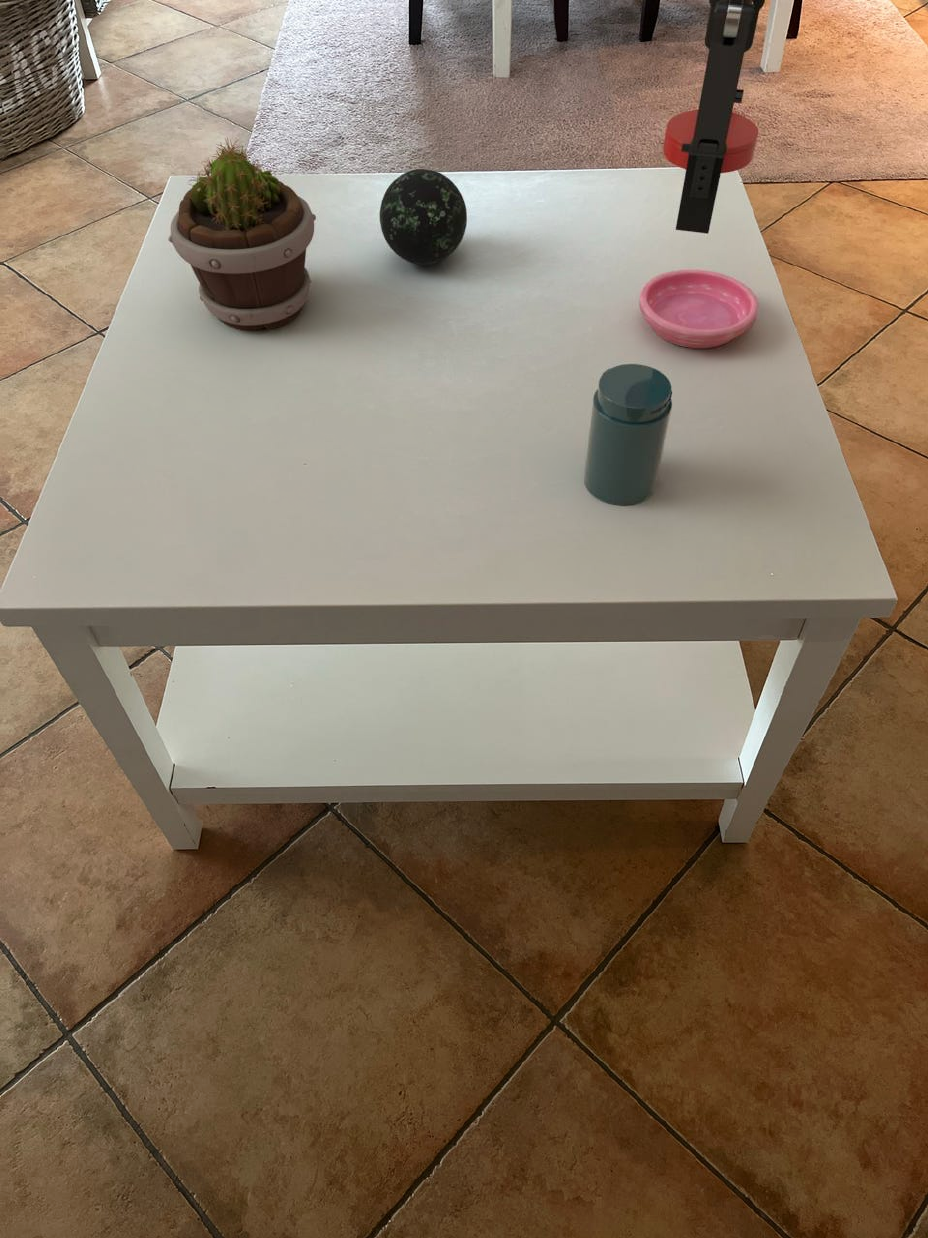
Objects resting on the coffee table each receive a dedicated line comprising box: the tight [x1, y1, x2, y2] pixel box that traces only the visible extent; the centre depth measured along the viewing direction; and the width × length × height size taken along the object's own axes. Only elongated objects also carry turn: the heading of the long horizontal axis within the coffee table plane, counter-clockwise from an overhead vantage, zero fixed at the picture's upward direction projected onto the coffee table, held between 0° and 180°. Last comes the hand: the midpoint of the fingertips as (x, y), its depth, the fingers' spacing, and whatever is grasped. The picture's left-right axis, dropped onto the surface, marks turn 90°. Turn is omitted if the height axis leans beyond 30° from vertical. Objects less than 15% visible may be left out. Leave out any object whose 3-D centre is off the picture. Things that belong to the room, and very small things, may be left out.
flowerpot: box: [168, 137, 317, 331], centre depth 95 cm, size 14×15×20 cm
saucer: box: [638, 269, 759, 349], centre depth 98 cm, size 12×12×3 cm
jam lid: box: [662, 109, 759, 174], centre depth 74 cm, size 7×7×2 cm
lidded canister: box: [583, 363, 673, 506], centre depth 80 cm, size 7×7×11 cm
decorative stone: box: [379, 168, 468, 266], centre depth 105 cm, size 10×10×10 cm
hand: (697, 205), depth 78 cm, fingers closed on jam lid, 7 cm apart
